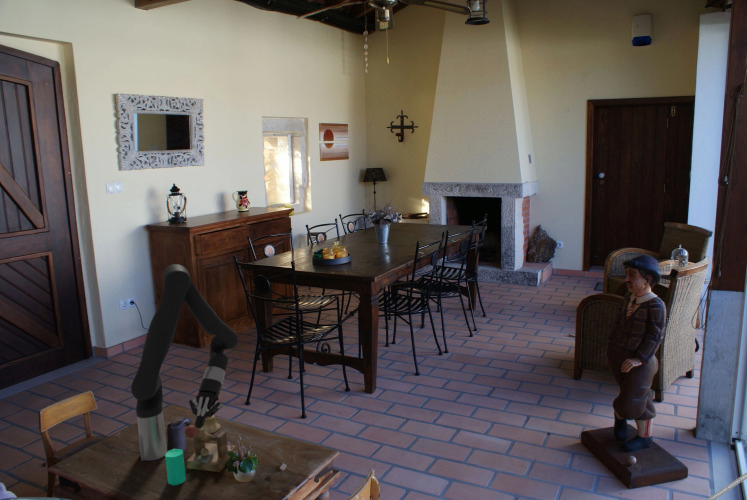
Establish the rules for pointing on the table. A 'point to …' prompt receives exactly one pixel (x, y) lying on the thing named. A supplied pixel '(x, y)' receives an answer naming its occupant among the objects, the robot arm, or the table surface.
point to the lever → (198, 434)
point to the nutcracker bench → (213, 462)
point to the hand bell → (211, 425)
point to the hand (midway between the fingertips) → (198, 427)
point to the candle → (175, 466)
